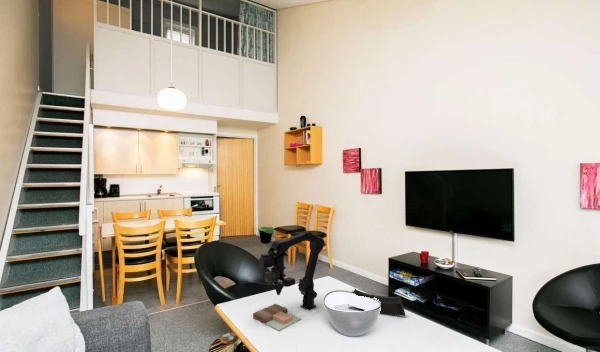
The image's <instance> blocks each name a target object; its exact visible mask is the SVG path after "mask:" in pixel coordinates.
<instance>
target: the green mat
mask: <svg viewBox="0 0 600 352" xmlns="http://www.w3.org/2000/svg"><path fill="white" fill-rule="evenodd" d="M286 314H288V315H290V316H292V321H290V322H288V323H286V324H284V325H283V324H281V323H279V322H277V321H275V320H271V321H269V322H267V323H265V324H264V325H266V326H267V327H270V328H272V329H274V330H276V331H278V332H281V331H282V330H284V329H286V328H288V327H290V326H292V325H295V323H297V322H299V321H301V320H302V318H301V317H299V316H297V315H295V314H293V313H290V312H287V313H286Z"/></svg>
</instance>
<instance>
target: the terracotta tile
mask: <svg viewBox="0 0 600 352" xmlns="http://www.w3.org/2000/svg"><path fill="white" fill-rule="evenodd" d="M272 319H273V320H275V321H277V322H279V323H281V324H283V325H284V324H286V323H288V322H290V321H292V316H290V315H288V314H285V313H283V312H279V313H277V314H274V315H272Z"/></svg>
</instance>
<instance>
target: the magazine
mask: <svg viewBox="0 0 600 352" xmlns="http://www.w3.org/2000/svg"><path fill="white" fill-rule="evenodd" d="M351 293H355V294H356V295H358V296H364V297H365V296H366V297H370V298H374V297H375V298H377V300H378V299H379V301H380V302H381V311H380V314H379V315H383V316H404V317H405V316H406V311H405V308H404V305H403V301H402V298H401V295H400V296H385V295H376V294H372V293H371V294H370V293H368V292H367V293H366V292H363V291H362V290H357V289H356V288H354V290H353V289H352V291H351V292H350V294H351Z"/></svg>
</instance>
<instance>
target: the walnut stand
mask: <svg viewBox="0 0 600 352" xmlns="http://www.w3.org/2000/svg"><path fill="white" fill-rule="evenodd" d="M279 312H283V313H285V314H286V313H288V308H287V307H284V306H282V305H280V304H277V303H274V304H272V305H269V306H267V307H264V308H262V309H259V310H257V311H255V312H253V313H252V319H254V320H256V321H258V322H260V323H262V324H263V325H266V324H265V323H267V322H269V321H271V320H273V319H272V315H274V314H277V313H279Z"/></svg>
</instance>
